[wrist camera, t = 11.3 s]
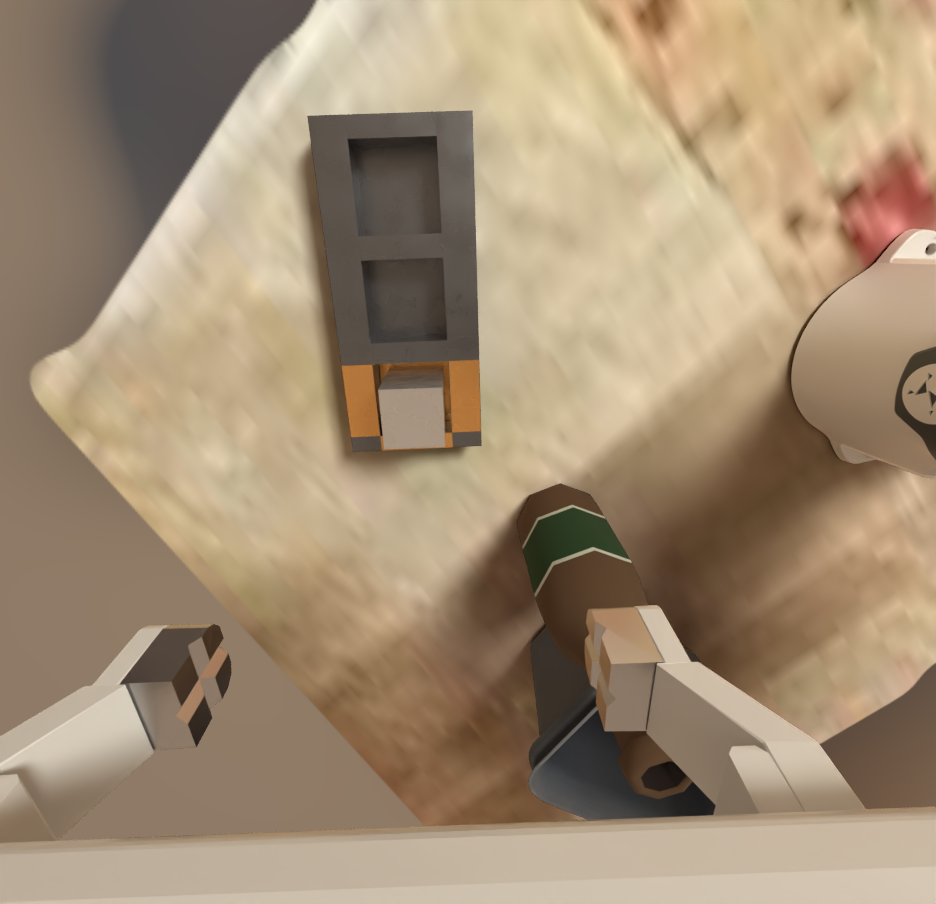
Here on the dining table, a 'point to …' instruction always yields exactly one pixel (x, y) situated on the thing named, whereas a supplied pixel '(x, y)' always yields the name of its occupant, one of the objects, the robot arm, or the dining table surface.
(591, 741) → the storage bin
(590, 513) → the beer bottle
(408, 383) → the block
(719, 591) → the dining table surface
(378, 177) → the grey tray
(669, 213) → the dining table surface
